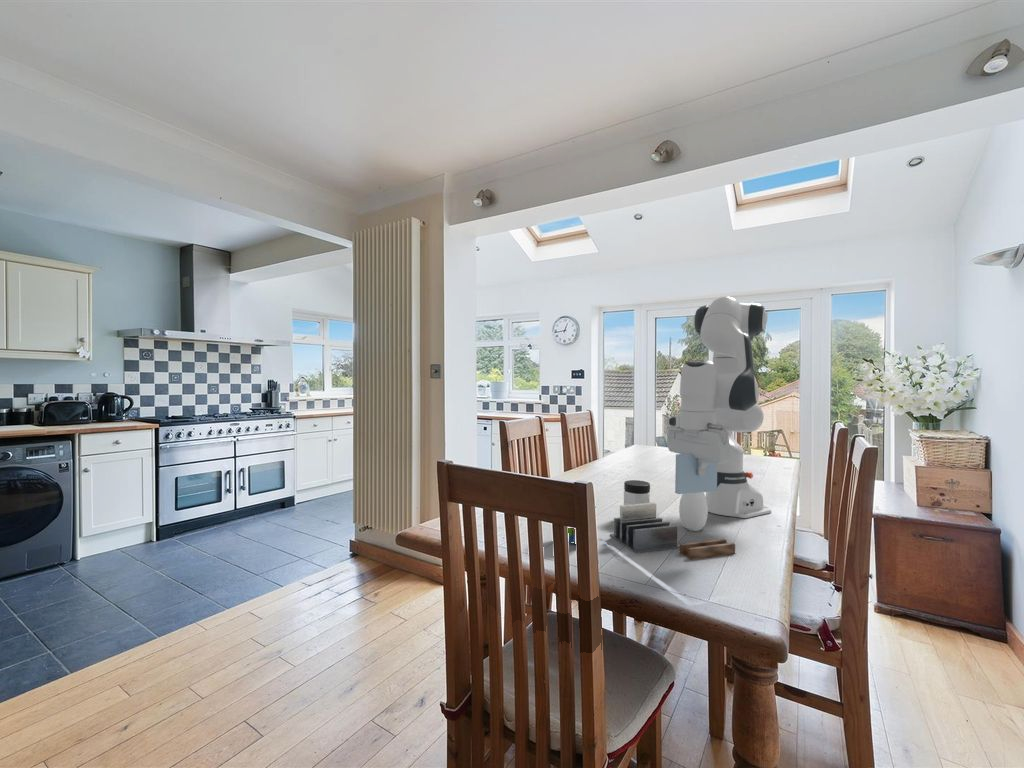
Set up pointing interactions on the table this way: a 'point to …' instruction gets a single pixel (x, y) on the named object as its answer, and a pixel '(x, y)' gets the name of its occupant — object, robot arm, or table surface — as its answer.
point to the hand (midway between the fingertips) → (696, 474)
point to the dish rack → (644, 529)
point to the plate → (694, 475)
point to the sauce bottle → (693, 511)
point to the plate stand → (707, 549)
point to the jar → (636, 492)
